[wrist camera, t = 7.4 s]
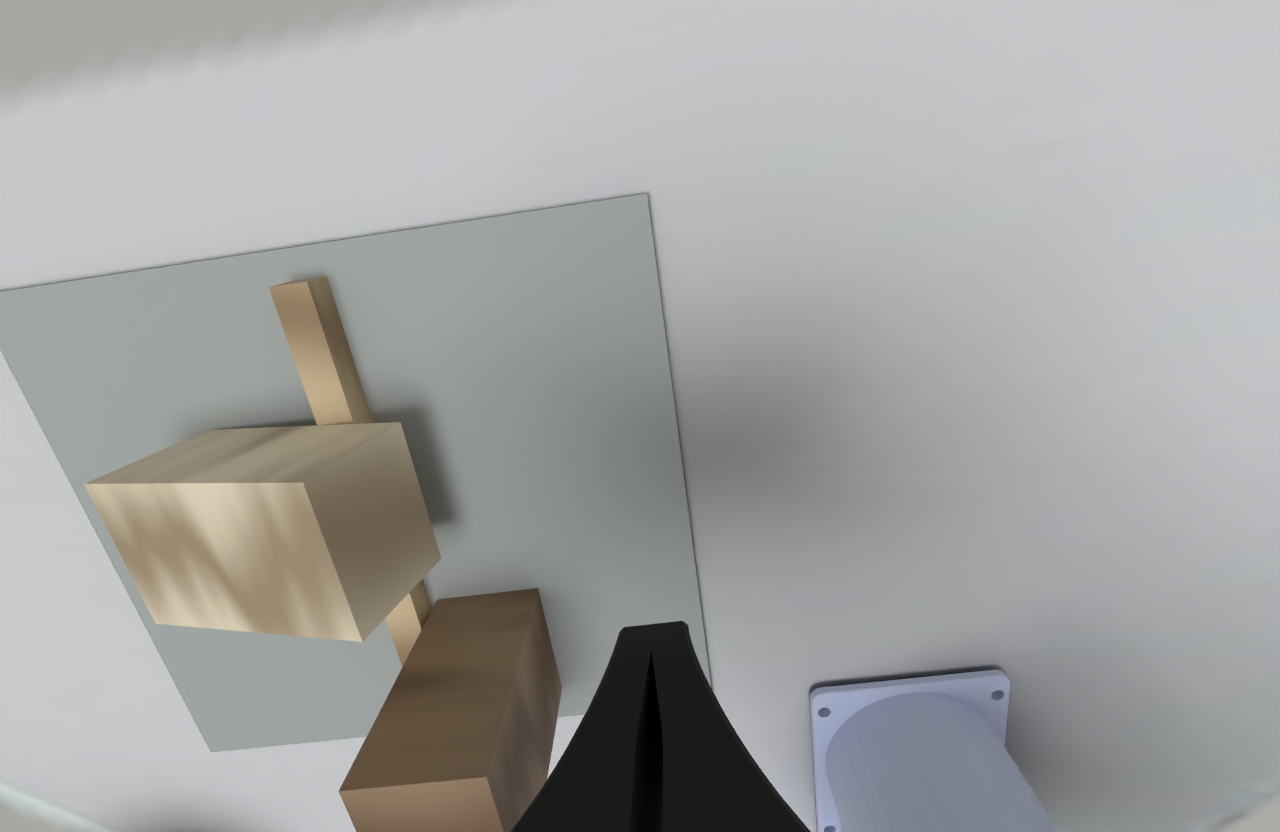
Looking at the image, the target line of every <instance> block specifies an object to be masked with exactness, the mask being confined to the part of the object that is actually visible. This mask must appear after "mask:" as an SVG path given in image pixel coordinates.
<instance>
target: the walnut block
mask: <svg viewBox="0 0 1280 832" xmlns="http://www.w3.org/2000/svg"><path fill="white" fill-rule="evenodd" d="M561 692H562V686H561V681H560V677H559V673H558V669H557V665H556V661H555V656H554V652H553V648H552V644H551V640H550V636H549V631H548V627H547V623H546V619H545V615H544V611H543V606H542V602H541V598H540V594H539V590H538V588H533V589H524V590H516V591H507V592H498V593H489V594H481V595H472V596H463V597H454V598H446V599H437V601H436V603H435V605H434V607H433V608H432V610H431V612H430V614H429V616H428V618H427V620H426V622H425V624H424V626H423V628H422V630H421V632H420V634H419V636H418V638H417V640H416V642H415V644H414V646H413V648H412V649H411V651H410V653H409V655H408V657H407V659H406V661H405V663H404V665H403V667H402V669H401V671H400V673H399V675H398V677H397V679H396V681H395V683H394V685H393V687H392V689H391V690H390V692H389V694H388V696H387V698H386V700H385V702H384V704H383V706H382V708H381V710H380V712H379V714H378V716H377V718H376V720H375V722H374V724H373V726H372V728H371V730H370V731H369V733H368V735H367V737H366V739H365V741H364V743H363V745H362V747H361V749H360V751H359V753H358V755H357V757H356V759H355V761H354V763H353V765H352V767H351V769H350V771H349V772H348V774H347V776H346V778H345V780H344V782H343V784H342V786H341V788H340V790H339V793H340V795H341V797H342V800H343V802H344V804H345V807H346V809H347V811H348V813H349V816H350V818H351V820H352V823H353V825H354V827H355V829H356V832H510V831H511V830H512V828H513V827H514V826H515V825H516V823H517V822H518V821H519V819H520V818H521V816H522V815H523V814H524V812H525V811H526V809H527V808H528V807H529V805H530V804H531V803H532V801H533V800H534V798H535V797H536V796H537V794H538V793H539V791H540V790H541V788H542V787H543V785H544V784H545V782H546V781H547V775H548V769H549V763H550V757H551V752H552V746H553V740H554V734H555V728H556V722H557V716H558V710H559V704H560V698H561Z"/></svg>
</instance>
